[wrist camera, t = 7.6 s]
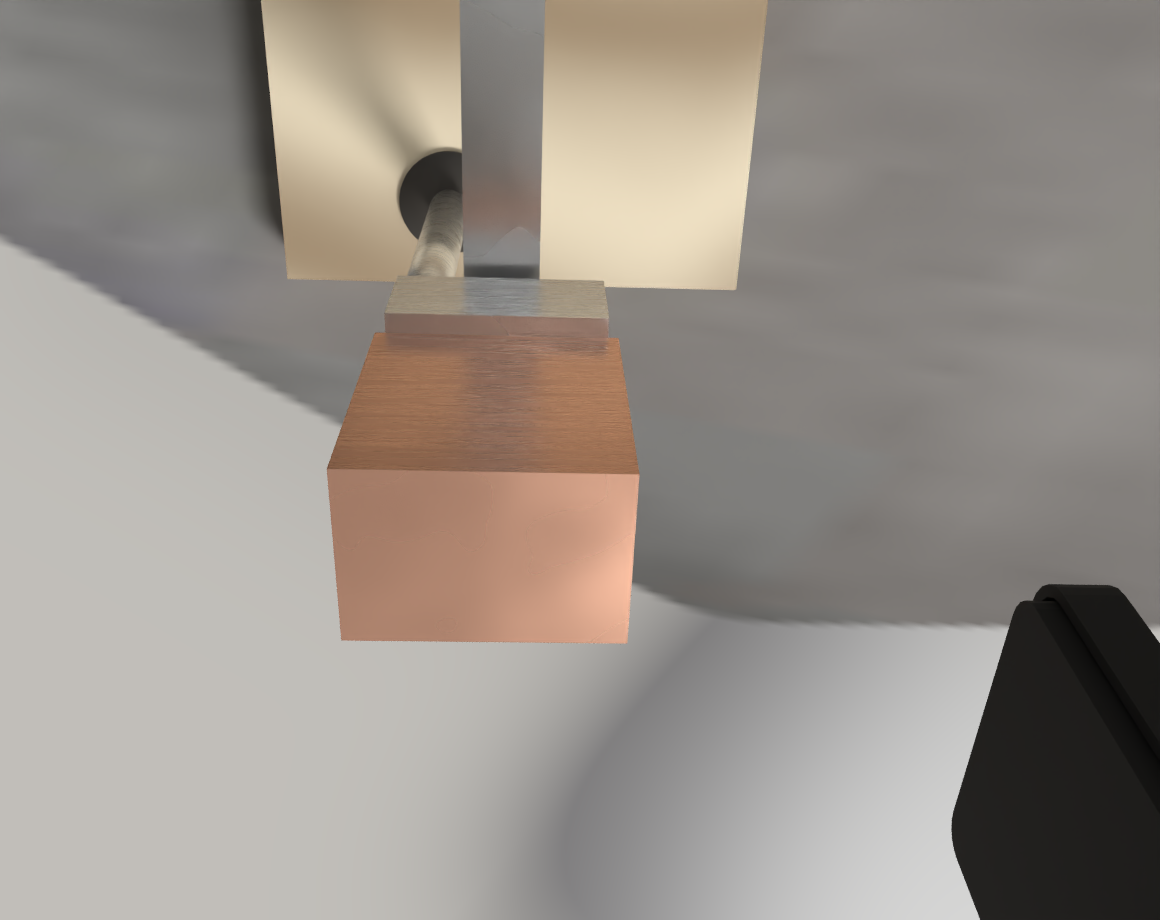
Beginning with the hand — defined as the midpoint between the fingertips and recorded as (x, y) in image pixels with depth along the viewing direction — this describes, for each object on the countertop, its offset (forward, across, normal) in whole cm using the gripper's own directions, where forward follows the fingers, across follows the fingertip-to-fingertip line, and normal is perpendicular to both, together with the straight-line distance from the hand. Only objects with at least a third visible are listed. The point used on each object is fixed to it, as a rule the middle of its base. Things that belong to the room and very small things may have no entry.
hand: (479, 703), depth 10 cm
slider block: (+18, 0, +1) cm, 18 cm away
